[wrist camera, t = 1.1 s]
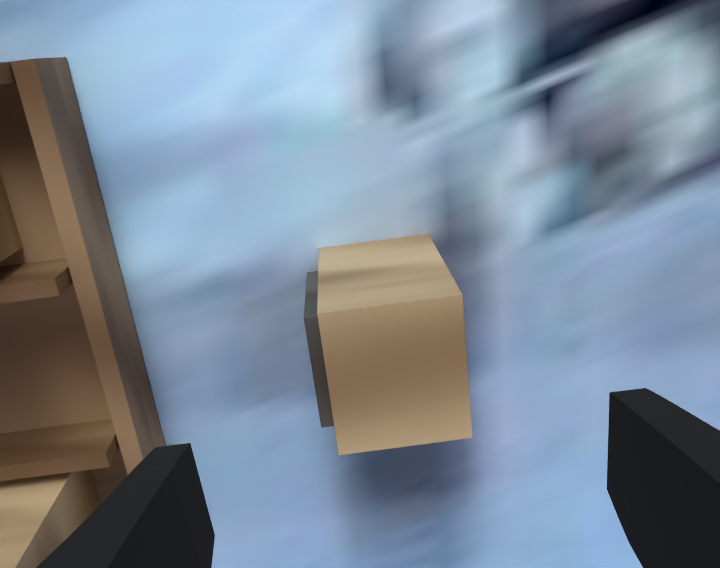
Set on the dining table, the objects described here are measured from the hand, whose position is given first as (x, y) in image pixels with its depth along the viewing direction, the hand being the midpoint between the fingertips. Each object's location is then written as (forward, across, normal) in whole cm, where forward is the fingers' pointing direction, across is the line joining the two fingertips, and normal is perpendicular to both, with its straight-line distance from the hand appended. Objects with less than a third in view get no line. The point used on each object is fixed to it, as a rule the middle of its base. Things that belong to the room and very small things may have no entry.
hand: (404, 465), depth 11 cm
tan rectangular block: (+10, 0, +2) cm, 11 cm away
